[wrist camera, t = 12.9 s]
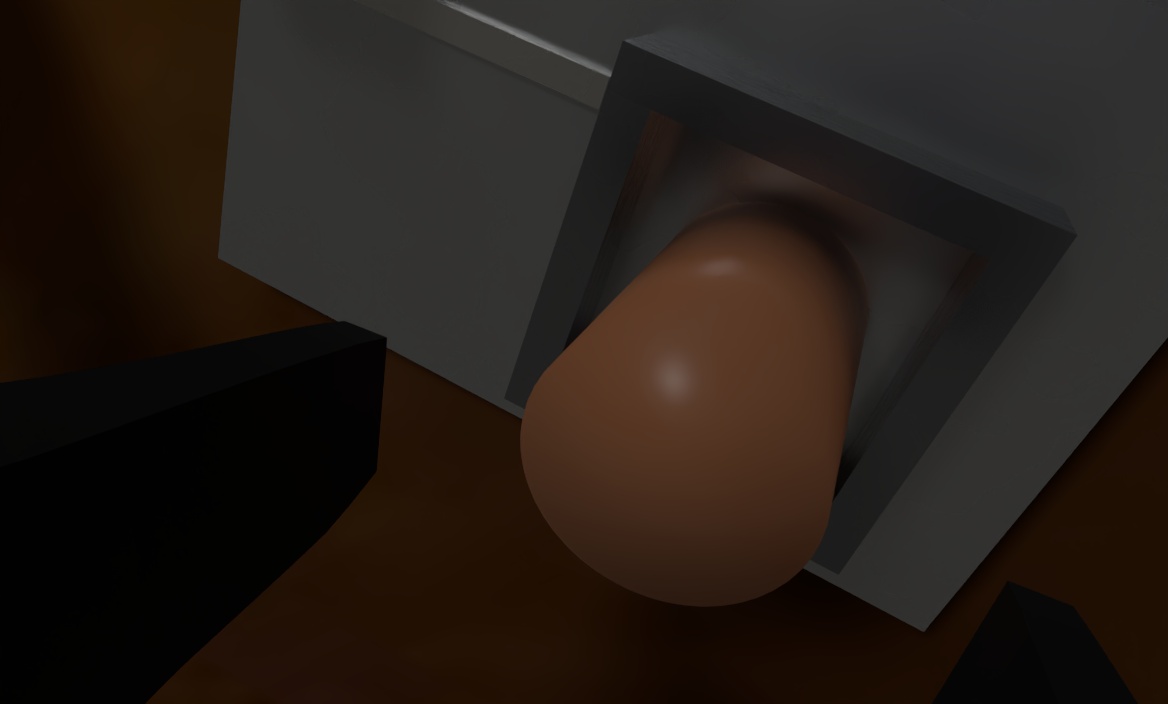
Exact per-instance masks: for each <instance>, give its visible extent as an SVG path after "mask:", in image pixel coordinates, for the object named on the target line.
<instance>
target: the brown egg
mask: <svg viewBox="0 0 1168 704" xmlns="http://www.w3.org/2000/svg"><path fill="white" fill-rule="evenodd" d="M868 307H869V305H868V296H867V289H866V285H865V282H864V278H863V275H862V273H861V270H860V268H859V266H858V264H857V262H856V260H855V259H854V257H853V255H852V253H851V252H850V251H849V249H848V248H847V247H846V246H845V244H844V243H843V242H842V240H841V239H840V238H838V237H837V236H836V235H835V234H834V233H833V232H832V231H831V230H830V229H829V228H827V227H826V226H825V225H823V224H822V223H821V222H819V221H818V220H816V219H814V218H812V217H810V216H809V215H807V214H805V213H803V212H800V211H798V210H795V209H792V208H789V207H786V206H782V205H778V204H771V203H763V202H746V203H738V204H731V205H728V206H724V207H721V208H717V209H715V210H713V211H710V212H708V213H706V214H704V215H702V216H700V217H699V218H697V219H695V220H694V221H692V222H691V223H690V224H689V225H687V226H686V227H685V228H684V229H682V230H681V231H680V232H679V234H678V235H677V236H676V237H675V238H674V239H673V240H672V241H671V242H670V243H669V244H668V245H667V246H666V247H665V248H664V249H663V250H662V251H661V252H660V253H659V254H658V255H657V256H656V257H655V258H654V259H653V260H652V261H651V262H650V263H649V264H648V265H647V266H646V267H645V268H644V269H643V271H642V272H641V273H640V274H639V275H638V276H637V277H636V278H635V279H634V280H633V281H632V282H631V283H630V284H629V285H628V286H627V287H626V288H625V289H624V290H623V291H622V292H621V293H620V294H619V295H618V296H617V297H616V298H615V299H614V300H613V301H612V302H611V303H610V304H609V305H608V306H607V307H606V309H605V310H604V311H603V312H602V313H601V314H600V315H599V316H598V317H597V318H596V319H595V320H594V321H593V322H592V323H591V324H590V325H589V326H588V327H587V328H586V329H585V330H584V331H583V332H582V333H581V334H580V335H579V336H578V337H577V338H576V339H575V340H574V341H573V342H572V343H571V344H570V345H569V347H568V348H567V349H566V350H565V351H564V352H563V353H562V354H561V355H560V356H559V357H558V358H557V359H556V360H555V361H554V362H553V363H552V364H551V365H550V366H549V367H548V368H547V369H546V370H545V371H544V373H543V374H542V376H541V377H540V379H539V380H538V382H537V383H536V384H535V386H534V388H533V390H532V392H531V394H530V397H529V399H528V401H527V404H526V407H525V411H524V414H523V419H522V426H521V456H522V463H523V469H524V472H525V476H526V479H527V483H528V486H529V488H530V491H531V493H532V496H533V498H534V500H535V502H536V504H537V506H538V508H539V509H540V511H541V513H542V515H543V517H544V518H545V519H546V521H547V522H548V524H549V525H550V527H551V528H552V530H553V531H554V532H555V533H556V535H557V536H558V537H559V538H560V539H561V540H562V541H563V543H564V544H565V545H566V546H567V547H568V548H569V549H570V550H571V551H572V552H573V553H574V554H575V555H577V556H578V557H579V558H580V559H581V560H582V561H584V562H585V563H586V564H587V565H589V566H590V567H591V568H592V569H594V570H595V571H597V572H598V573H600V574H601V575H603V576H604V577H606V578H608V579H609V580H611V581H613V582H615V583H617V584H618V585H620V586H622V587H624V588H626V589H628V590H631V591H633V592H636V593H638V594H641V595H643V596H646V597H649V598H653V599H656V600H660V601H663V602H668V603H674V604H679V605H686V606H700V607H707V606H724V605H730V604H737V603H741V602H745V601H748V600H752V599H755V598H758V597H760V596H762V595H765V594H767V593H769V592H771V591H774V590H775V589H777V588H778V587H780V586H781V585H783V584H785V583H786V582H788V581H789V580H790V579H791V578H792V577H794V576H795V575H796V574H797V573H798V572H799V571H801V570H802V568H803V567H804V566H805V565H806V564H807V562H808V561H809V560H810V559H811V558H812V556H813V555H814V553H815V551H816V550H817V548H818V546H819V544H820V543H821V541H822V538H823V536H824V533H825V530H826V528H827V525H828V520H829V515H830V510H831V505H832V500H833V495H834V490H835V485H836V480H837V475H838V470H839V464H840V459H841V454H842V449H843V444H844V439H845V434H846V429H847V424H848V419H849V414H850V409H851V403H852V398H853V393H854V388H855V383H856V378H857V373H858V368H859V363H860V358H861V353H862V347H863V342H864V337H865V332H866V327H867V322H868Z"/></svg>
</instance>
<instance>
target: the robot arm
mask: <svg viewBox="0 0 1168 704" xmlns="http://www.w3.org/2000/svg"><path fill="white" fill-rule="evenodd" d="M386 346H387V337H385V336H382V335H380V334H377V333H375V332H372V331H369V330H367V329H364V328H362V327H359V326H357V325H354V324H352V323H349V322H346V321H340V322H331V323H323V324H317V325H311V326H305V327H300V328H294V329H289V330H284V331H279V332H274V333H270V334H265V335H260V336H255V337H250V338H246V339H241V340H236V341H231V342H227V343H222V344H217V345H212V346H208V347H203V348H198V349H193V350H189V351H184V352H179V353H174V354H169V355H165V356H160V357H154V358H149V359H143V360H138V361H132V362H126V363H121V364H115V365H110V366H104V367H98V368H93V369H87V370H82V371H76V372H70V373H65V374H59V375H53V376H47V377H40V378H33V379H26V380H19V381H12V382H4V383H0V704H145V703H146V702H147V701H148V700H149V699H150V698H151V697H152V696H153V695H154V694H155V693H156V692H157V691H158V690H159V689H160V688H161V687H162V686H163V685H164V684H165V683H166V682H167V681H168V680H169V679H170V678H171V677H172V676H173V675H174V674H175V673H176V672H177V671H178V670H179V669H180V668H181V667H182V666H183V665H184V664H185V663H186V662H187V661H188V660H189V659H190V658H192V657H193V656H194V655H195V654H196V653H197V652H198V651H199V650H200V649H201V648H202V647H204V646H205V645H206V644H207V643H208V642H209V641H210V640H211V639H212V638H213V637H214V636H216V635H217V634H218V633H219V632H220V631H221V630H222V629H223V628H224V627H225V626H226V625H227V624H229V623H230V622H231V621H232V620H233V619H234V618H235V617H236V616H237V615H238V614H239V613H241V612H242V611H243V610H244V609H245V608H246V607H247V606H248V605H249V604H250V603H251V602H253V601H254V600H255V599H256V598H257V597H258V596H259V595H260V594H261V593H262V592H263V591H264V590H266V589H267V588H268V587H269V586H270V585H271V584H272V583H273V582H274V581H275V580H276V579H278V578H279V577H280V576H281V575H282V574H283V573H284V572H285V571H286V570H287V569H288V568H289V567H290V566H291V565H293V564H294V563H295V562H296V561H297V560H298V559H299V558H300V557H301V556H302V555H303V554H304V553H305V552H306V551H307V550H309V549H310V548H311V547H312V546H313V545H314V544H315V543H316V542H317V541H318V540H319V539H320V538H321V537H322V536H323V535H324V534H325V533H326V532H327V531H328V530H329V529H330V527H331V526H332V525H333V524H334V523H335V522H336V520H337V519H338V518H339V517H340V516H341V515H342V513H343V512H344V511H345V510H346V509H347V508H348V506H349V505H350V504H351V503H352V501H353V500H354V499H355V498H356V496H357V495H358V494H359V493H360V491H361V490H362V489H363V488H364V486H365V485H366V484H367V483H368V481H369V480H370V479H371V478H372V476H373V475H374V474H375V472H376V471H377V458H378V446H379V433H380V421H381V408H382V396H383V384H384V371H385V359H386ZM932 704H1137V702H1136V700H1135V699H1134V697H1133V696H1132V694H1131V693H1130V691H1129V690H1128V688H1127V687H1126V685H1125V683H1124V682H1123V680H1122V679H1121V677H1120V676H1119V674H1118V673H1117V671H1116V669H1115V668H1114V666H1113V665H1112V663H1111V662H1110V660H1109V659H1108V657H1107V656H1106V654H1105V652H1104V651H1103V649H1102V648H1101V646H1100V645H1099V643H1098V642H1097V640H1096V639H1095V637H1094V636H1093V634H1092V633H1091V631H1090V630H1089V628H1088V627H1087V625H1086V624H1085V622H1084V621H1083V620H1082V618H1081V617H1080V615H1079V614H1078V613H1077V611H1076V610H1075V608H1074V607H1073V606H1071V605H1068V604H1066V603H1063V602H1060V601H1058V600H1055V599H1053V598H1050V597H1048V596H1045V595H1043V594H1040V593H1038V592H1035V591H1032V590H1030V589H1027V588H1025V587H1022V586H1020V585H1017V584H1015V583H1012V582H1009V581H1007V583H1006V584H1005V586H1004V588H1003V589H1002V591H1001V593H1000V594H999V596H998V597H997V599H996V601H995V602H994V604H993V606H992V607H991V609H990V610H989V612H988V614H987V615H986V617H985V619H984V620H983V622H982V623H981V625H980V627H979V628H978V630H977V632H976V633H975V635H974V637H973V638H972V640H971V641H970V643H969V645H968V646H967V648H966V650H965V651H964V653H963V654H962V656H961V658H960V659H959V661H958V663H957V664H956V666H955V667H954V669H953V671H952V672H951V674H950V676H949V677H948V679H947V680H946V682H945V684H944V685H943V687H942V689H941V690H940V692H939V693H938V695H937V697H936V698H935V700H934V702H933V703H932Z"/></svg>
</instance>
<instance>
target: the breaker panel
mask: <svg viewBox="0 0 1168 704" xmlns="http://www.w3.org/2000/svg"><path fill="white" fill-rule="evenodd" d="M746 202H763V203H771V204H778V205H782V206H786V207H789V208H792V209H795V210H798V211H800V212H803V213H805V214H807V215H809V216H810V217H812V218H814V219H816V220H818V221H819V222H821V223H822V224H823V225H825V226H826V227H827V228H829V229H830V230H831V231H832V232H833V233H834V234H835V235H836V236H837V237H838V238H840V239H841V240H842V242H843V243H844V244H845V246H846V247H847V248H848V249H849V251H850V252H851V253H852V255H853V257H854V259H855V260H856V262H857V264H858V266H859V268H860V270H861V273H862V275H863V278H864V282H865V285H866V289H867V296H868V305H869V307H868V322H867V327H866V332H865V337H864V342H863V347H862V353H861V358H860V363H859V368H858V373H857V378H856V383H855V388H854V393H853V398H852V403H851V409H850V414H849V419H848V424H847V429H846V434H845V439H844V444H843V449H842V454H841V459H840V464H839V470H838V475H837V480H836V485H835V490H834V495H833V500H832V505H831V510H830V515H829V520H828V525H827V528H826V530H825V533H824V536H823V538H822V541H821V543H820V544H819V546H818V548H817V550H816V551H815V553H814V555H813V556H812V558H811V559H810V560H809V561H808V562H807V564H806V565H805V566H804V567H803V568H804V569H806V570H808V571H810V572H811V573H813V574H815V575H817V576H819V577H821V578H823V579H825V580H827V581H828V582H830V583H832V584H834V585H836V586H838V587H840V588H842V589H844V590H845V591H847V592H849V593H851V594H853V595H855V596H857V597H859V598H861V599H862V600H864V601H866V602H868V603H870V604H872V605H874V606H876V607H878V608H879V609H881V610H883V611H885V612H887V613H889V614H891V615H893V616H894V617H896V618H898V619H900V620H902V621H904V622H906V623H908V624H910V625H911V626H913V627H915V628H917V629H919V630H921V631H923V632H924V631H925V630H926V628H927V627H928V626H929V625H930V624H931V622H932V621H933V620H934V619H935V618H936V616H937V615H938V614H939V613H940V612H941V610H942V609H943V608H944V607H945V606H946V604H947V603H948V602H949V601H950V599H951V598H952V597H953V596H954V595H955V593H956V592H957V591H958V590H959V589H960V587H961V586H962V585H963V584H964V583H965V581H966V580H967V579H968V578H969V577H970V575H971V574H972V573H973V572H974V571H975V569H976V568H977V567H978V566H979V564H980V563H981V562H982V561H983V560H984V558H985V557H986V556H987V555H988V554H989V552H990V551H991V550H992V549H993V548H994V546H995V545H996V544H997V543H998V542H999V540H1000V539H1001V538H1002V537H1003V536H1004V534H1005V533H1006V532H1007V531H1008V529H1009V528H1010V527H1011V526H1012V525H1013V523H1014V522H1015V521H1016V520H1017V519H1018V517H1019V516H1020V515H1021V514H1022V513H1023V511H1024V510H1025V509H1026V508H1027V507H1028V505H1029V504H1030V503H1031V502H1032V501H1033V499H1034V498H1035V497H1036V496H1037V494H1038V493H1039V492H1040V491H1041V490H1042V488H1043V487H1044V486H1045V485H1046V484H1047V482H1048V481H1049V480H1050V479H1051V478H1052V476H1053V475H1054V474H1055V473H1056V472H1057V470H1058V469H1059V468H1060V467H1061V466H1062V464H1063V463H1064V462H1065V461H1066V459H1067V458H1068V457H1069V456H1070V455H1071V453H1072V452H1073V451H1074V450H1075V449H1076V447H1077V446H1078V445H1079V444H1080V443H1081V441H1082V440H1083V439H1084V438H1085V437H1086V435H1087V434H1088V433H1089V432H1090V431H1091V429H1092V428H1093V427H1094V426H1095V424H1096V423H1097V422H1098V421H1099V420H1100V418H1101V417H1102V416H1103V415H1104V414H1105V412H1106V411H1107V410H1108V409H1109V408H1110V406H1111V405H1112V404H1113V403H1114V402H1115V400H1116V399H1117V398H1118V397H1119V396H1120V394H1121V393H1122V392H1123V391H1124V389H1125V388H1126V387H1127V386H1128V385H1129V383H1130V382H1131V381H1132V380H1133V379H1134V377H1135V376H1136V375H1137V374H1138V373H1139V371H1140V370H1141V369H1142V368H1143V367H1144V365H1145V364H1146V363H1147V362H1148V361H1149V359H1150V358H1151V357H1152V356H1153V354H1154V353H1155V352H1156V351H1157V350H1158V348H1159V347H1160V346H1161V345H1162V344H1163V342H1164V341H1165V340H1166V339H1167V338H1168V0H241V8H240V19H239V30H238V41H237V52H236V64H235V75H234V86H233V97H232V108H231V119H230V130H229V142H228V153H227V164H226V175H225V186H224V197H223V208H222V219H221V231H220V242H219V253H218V258H219V259H221V260H223V261H225V262H227V263H229V264H231V265H232V266H234V267H236V268H238V269H240V270H242V271H244V272H246V273H248V274H249V275H251V276H253V277H255V278H257V279H259V280H261V281H263V282H265V283H266V284H268V285H270V286H272V287H274V288H276V289H278V290H280V291H281V292H283V293H285V294H287V295H289V296H291V297H293V298H295V299H297V300H298V301H300V302H302V303H304V304H306V305H308V306H310V307H312V308H314V309H315V310H317V311H319V312H321V313H323V314H325V315H327V316H329V317H331V318H332V319H334V320H336V321H338V322H340V321H346V322H349V323H352V324H354V325H357V326H359V327H362V328H364V329H367V330H369V331H372V332H375V333H377V334H380V335H382V336H385V337H387V346H386V347H387V348H389V349H391V350H393V351H395V352H397V353H398V354H400V355H402V356H404V357H406V358H408V359H410V360H412V361H414V362H415V363H417V364H419V365H421V366H423V367H425V368H427V369H429V370H430V371H432V372H434V373H436V374H438V375H440V376H442V377H444V378H446V379H447V380H449V381H451V382H453V383H455V384H457V385H459V386H461V387H463V388H464V389H466V390H468V391H470V392H472V393H474V394H476V395H478V396H480V397H481V398H483V399H485V400H487V401H489V402H491V403H493V404H495V405H497V406H498V407H500V408H502V409H504V410H506V411H508V412H510V413H512V414H513V415H515V416H517V417H519V418H521V419H523V414H524V411H525V407H526V404H527V401H528V399H529V397H530V394H531V392H532V390H533V388H534V386H535V384H536V383H537V382H538V380H539V379H540V377H541V376H542V374H543V373H544V371H545V370H546V369H547V368H548V367H549V366H550V365H551V364H552V363H553V362H554V361H555V360H556V359H557V358H558V357H559V356H560V355H561V354H562V353H563V352H564V351H565V350H566V349H567V348H568V347H569V345H570V344H571V343H572V342H573V341H574V340H575V339H576V338H577V337H578V336H579V335H580V334H581V333H582V332H583V331H584V330H585V329H586V328H587V327H588V326H589V325H590V324H591V323H592V322H593V321H594V320H595V319H596V318H597V317H598V316H599V315H600V314H601V313H602V312H603V311H604V310H605V309H606V307H607V306H608V305H609V304H610V303H611V302H612V301H613V300H614V299H615V298H616V297H617V296H618V295H619V294H620V293H621V292H622V291H623V290H624V289H625V288H626V287H627V286H628V285H629V284H630V283H631V282H632V281H633V280H634V279H635V278H636V277H637V276H638V275H639V274H640V273H641V272H642V271H643V269H644V268H645V267H646V266H647V265H648V264H649V263H650V262H651V261H652V260H653V259H654V258H655V257H656V256H657V255H658V254H659V253H660V252H661V251H662V250H663V249H664V248H665V247H666V246H667V245H668V244H669V243H670V242H671V241H672V240H673V239H674V238H675V237H676V236H677V235H678V234H679V232H680V231H681V230H682V229H684V228H685V227H686V226H687V225H689V224H690V223H691V222H692V221H694V220H695V219H697V218H699V217H700V216H702V215H704V214H706V213H708V212H710V211H713V210H715V209H717V208H721V207H724V206H728V205H731V204H738V203H746Z"/></svg>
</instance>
